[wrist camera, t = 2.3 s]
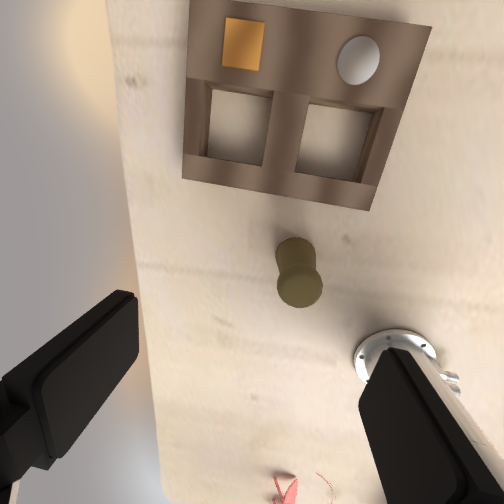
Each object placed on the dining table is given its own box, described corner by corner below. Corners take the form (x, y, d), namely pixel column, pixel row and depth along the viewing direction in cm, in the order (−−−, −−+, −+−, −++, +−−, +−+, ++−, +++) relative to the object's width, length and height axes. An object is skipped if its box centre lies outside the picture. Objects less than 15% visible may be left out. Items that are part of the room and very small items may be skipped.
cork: (269, 246, 36) (263, 279, 26) (306, 231, 35) (316, 259, 24) (284, 279, 38) (285, 322, 27) (321, 266, 36) (336, 306, 26)
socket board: (413, 43, 26) (434, 25, 22) (360, 206, 32) (369, 211, 29) (201, 15, 27) (188, -7, 24) (191, 176, 34) (180, 178, 30)
